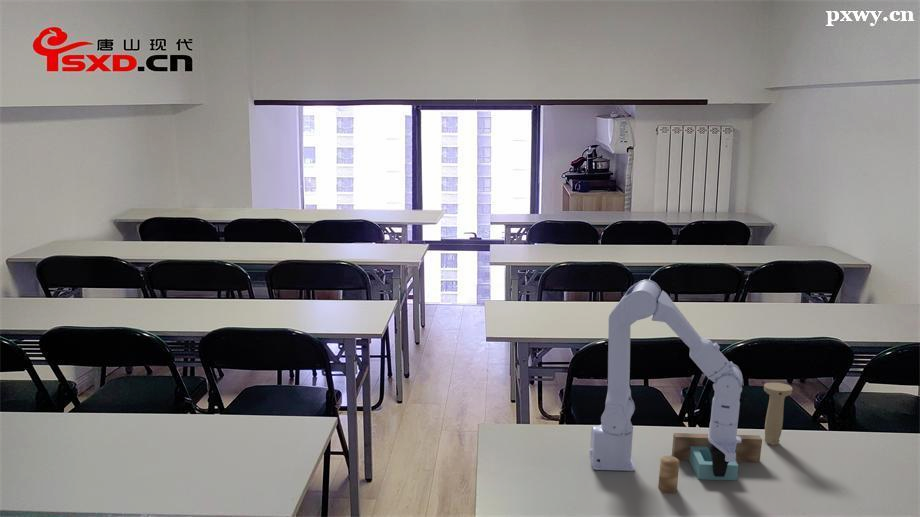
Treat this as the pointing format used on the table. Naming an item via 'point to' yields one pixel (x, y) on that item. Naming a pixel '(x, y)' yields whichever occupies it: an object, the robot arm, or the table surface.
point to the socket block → (709, 464)
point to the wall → (683, 441)
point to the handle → (775, 411)
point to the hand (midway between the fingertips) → (718, 475)
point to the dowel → (668, 474)
